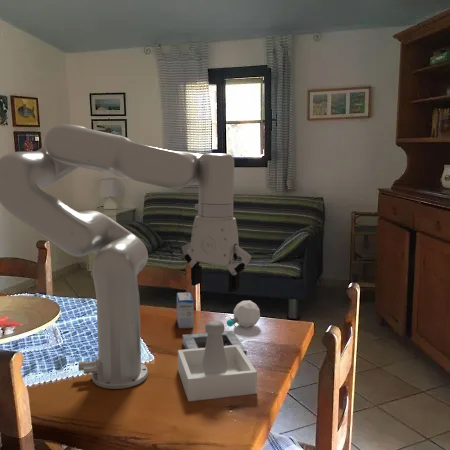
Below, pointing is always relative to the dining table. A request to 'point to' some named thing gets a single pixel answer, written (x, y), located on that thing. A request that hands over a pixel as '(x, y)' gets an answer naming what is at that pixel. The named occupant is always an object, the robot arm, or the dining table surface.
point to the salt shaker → (214, 349)
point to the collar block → (200, 339)
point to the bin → (216, 375)
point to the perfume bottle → (245, 314)
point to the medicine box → (185, 310)
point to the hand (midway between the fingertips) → (214, 287)
